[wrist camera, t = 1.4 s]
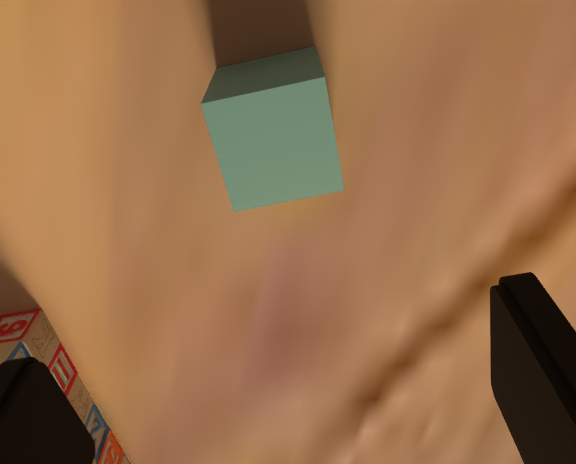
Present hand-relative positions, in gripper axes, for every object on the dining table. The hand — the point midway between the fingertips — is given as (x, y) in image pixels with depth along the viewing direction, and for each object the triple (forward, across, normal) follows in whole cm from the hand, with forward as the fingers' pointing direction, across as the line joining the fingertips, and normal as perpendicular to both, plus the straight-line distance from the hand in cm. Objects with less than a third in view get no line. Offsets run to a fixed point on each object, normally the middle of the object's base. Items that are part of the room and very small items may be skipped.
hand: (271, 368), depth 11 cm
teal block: (+18, 0, 0) cm, 18 cm away
